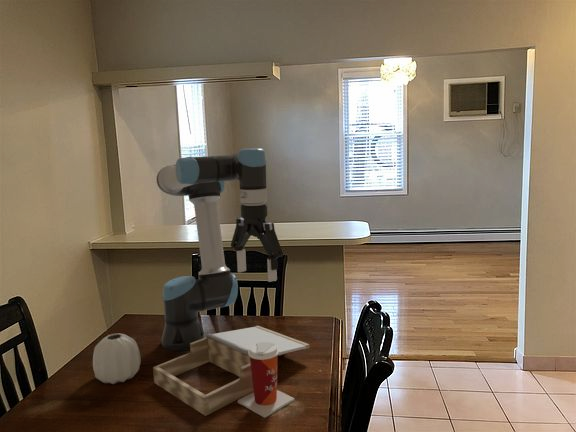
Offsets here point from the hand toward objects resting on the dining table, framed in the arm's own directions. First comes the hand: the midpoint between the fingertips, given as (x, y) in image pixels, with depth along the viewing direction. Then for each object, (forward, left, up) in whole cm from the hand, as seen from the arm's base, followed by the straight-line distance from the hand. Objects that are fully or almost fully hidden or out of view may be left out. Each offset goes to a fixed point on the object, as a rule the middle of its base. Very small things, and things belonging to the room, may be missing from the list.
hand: (256, 275), depth 135 cm
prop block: (-10, +15, -32) cm, 37 cm away
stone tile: (+10, -8, -32) cm, 34 cm away
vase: (-35, -29, -32) cm, 55 cm away
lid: (-10, +7, -28) cm, 30 cm away
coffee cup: (+10, -8, -31) cm, 34 cm away
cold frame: (-10, -13, -32) cm, 36 cm away
